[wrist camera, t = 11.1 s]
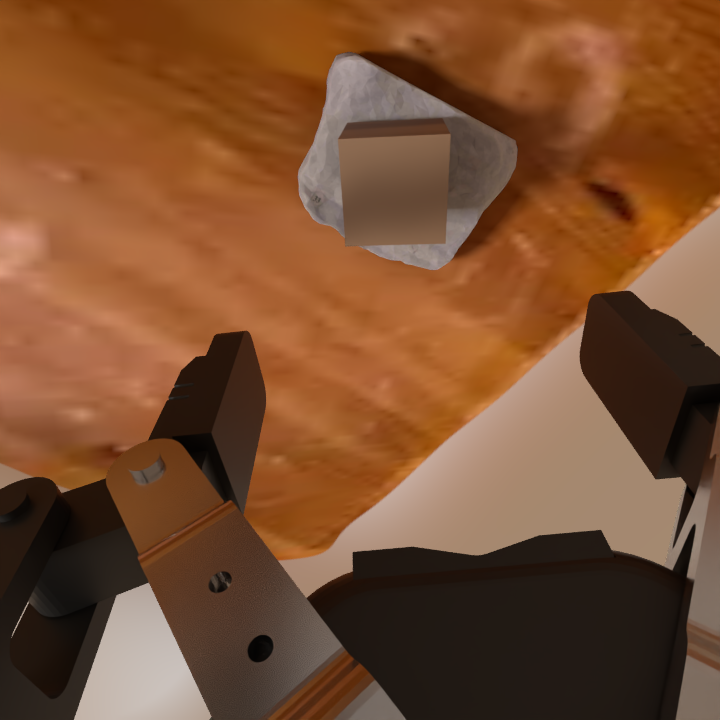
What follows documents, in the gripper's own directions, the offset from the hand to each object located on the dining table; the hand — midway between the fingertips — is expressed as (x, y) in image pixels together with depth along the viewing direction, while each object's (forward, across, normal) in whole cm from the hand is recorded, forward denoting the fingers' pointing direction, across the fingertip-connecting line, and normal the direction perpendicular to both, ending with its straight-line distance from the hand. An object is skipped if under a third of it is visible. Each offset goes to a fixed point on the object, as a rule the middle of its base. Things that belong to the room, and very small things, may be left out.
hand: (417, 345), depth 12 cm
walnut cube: (+18, -1, 0) cm, 19 cm away
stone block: (+23, -1, +1) cm, 23 cm away
